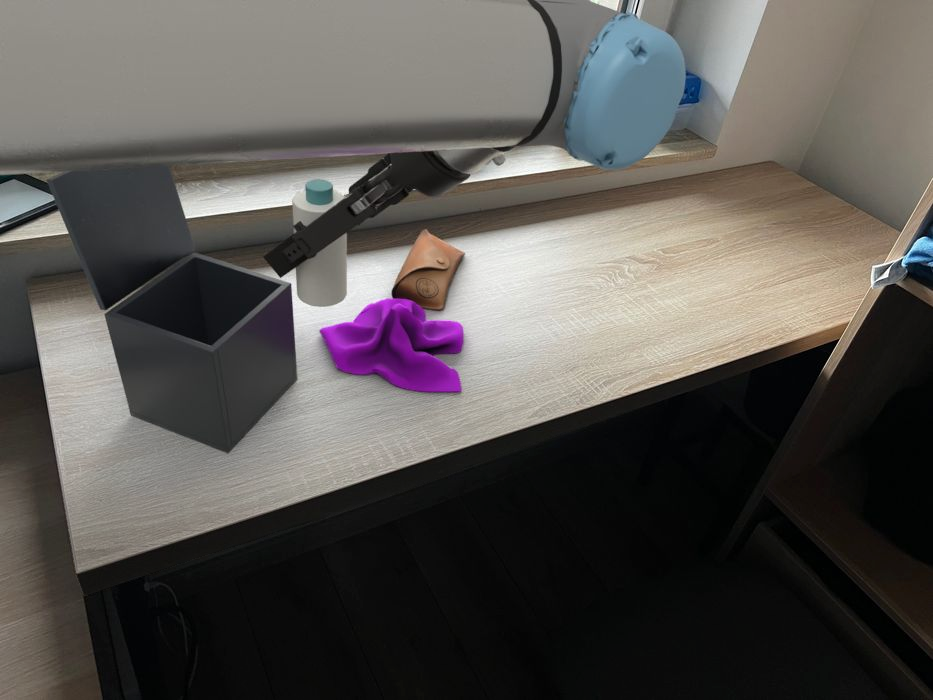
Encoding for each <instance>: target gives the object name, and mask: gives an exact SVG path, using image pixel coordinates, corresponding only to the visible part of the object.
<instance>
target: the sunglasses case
mask: <svg viewBox="0 0 933 700" xmlns="http://www.w3.org/2000/svg"><path fill="white" fill-rule="evenodd" d="M465 254H466V252H465V251H462V250H460V249H458V248H456V247H454V246H452V245H451V244H449V243H447V242H445V241H444V240H442V239H440V238H439V237H437V236H435V235H433V234H431V233H430V232H429V231H428V229H423V230H422V231H421V232H420V233H419V235H418V237H417V238H416V240H415V242H414V243H413V245H412V247H411V248H410V251H409V252H408V254H407V256H406V258H405V260H404V263H403V265H402V266H401V269H400V270H399V272H398V274H397V277H396V279H395V281H394V284H393V287H392V289H391V298H392V299H407V300H411V301H414V302H415V303H416V304H417V305H419V306H420V307H421V308H423V309H424V310H433V311H440V310H443V309H444V308H445V305H446V300H447V296H448V291H449V288H450V286H451V283H452V281H453V278H454V277H455V273H456V271H457V268H458V267H459V265H460V263H461V262H462V260H463V258H464V256H465Z"/></svg>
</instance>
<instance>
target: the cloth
mask: <svg viewBox="0 0 933 700" xmlns="http://www.w3.org/2000/svg"><path fill="white" fill-rule="evenodd" d="M426 316H427V315H426V311H425V309H423V308H421V307H420V306H419V305H417V304H416V303H415V302H414V301H411V300H407V299H393V298H384V299H380V300H378V301H376V302H371V303H369V304H367V305H366V306H365V307H364V308H363V309H362V310H361V311H360V312H359V313H358V314H357V315H356V317H355V318H354V319H353V321H344V322H340V323H337V324H336V323H335V324H333V325H330V326H326V327H322V328H320V329H319V333H320V335H321V337H322V338H323V340H324V342H325V345H326V347H327V349H328V351H329V352H330V355H331V357H332V360H333V362H334V364H335V366H336V368H337V369H338V370H340V371H342V372H345V373H348V374H351V375H357V376H359V375H360V376H365V375H366V376H367V375H371V374H379V375H380V376H382V377H383V378H384V379H386V380H387V381H388V382H389V383H391V384H392V385H393V386H395V387H398V388H400V389H404V390H409V391H415V392H421V393H422V392H423V393H460V392H462V385H461V379H460V375H459V372H458V370H456V369H455V368H451V367H450V366H449V365H448V364H447V363H445V362H444V361H442V360H441V359H440V358H438V357H436V356H435V355H446V354H447V355H448V354H451V355H453V354H459V353H461V351H462V349H463V346H464V326H463V325H462V324H461V323H460V322H458V321H456V320H455V321H454V320H437V319H429V320H426V318H427V317H426Z"/></svg>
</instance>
